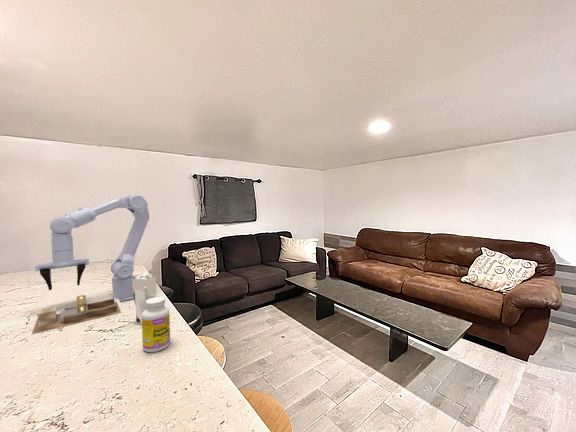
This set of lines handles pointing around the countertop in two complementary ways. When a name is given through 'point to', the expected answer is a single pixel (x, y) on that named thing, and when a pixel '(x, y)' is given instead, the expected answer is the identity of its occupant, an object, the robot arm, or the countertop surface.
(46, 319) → the block
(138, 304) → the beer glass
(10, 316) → the countertop surface
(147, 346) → the supplement bottle
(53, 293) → the countertop surface
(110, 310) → the press board
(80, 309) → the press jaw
